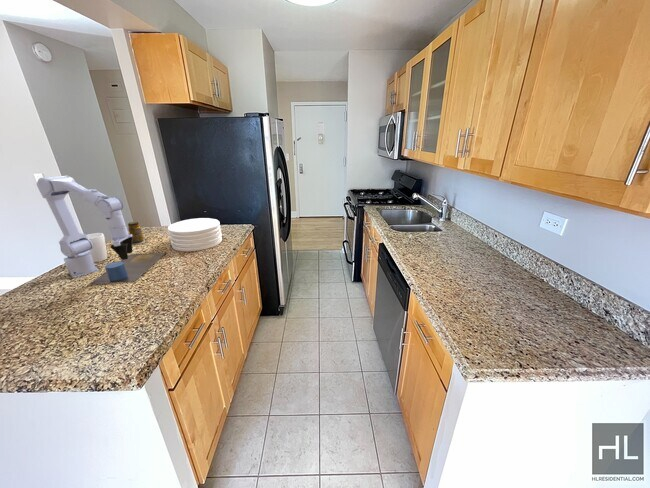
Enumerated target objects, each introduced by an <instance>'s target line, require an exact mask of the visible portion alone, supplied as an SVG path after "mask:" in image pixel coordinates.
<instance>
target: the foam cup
mask: <svg viewBox="0 0 650 488" xmlns="http://www.w3.org/2000/svg"><path fill="white" fill-rule="evenodd" d="M86 235H87V237H88V238H89V240H90V241H91V242H92V243H93V248H92V249H91V251H92V252H90V253H91V256H92V259H93V261H94V263H99V262H103V261H105V260H107V259H108V254H107V253H108V252H107V246H106V241H105V240H106V237H105V234H104V233H102V232H94V233H88V234H86Z"/></svg>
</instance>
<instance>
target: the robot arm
mask: <svg viewBox="0 0 650 488" xmlns="http://www.w3.org/2000/svg"><path fill="white" fill-rule="evenodd" d="M36 187H37V189H38V191H39V192H40V195H41V196H42V198H43V199H45V201H46V202H47V205H48V206H49V208H50V211H51V213H52V215H53V217H54V218H55V220H56V222H57V225H58V227H59V228H60V231H61V233H62V235H63V236H62V238H61V239H60V240H59V241H58V244H59V246H60V247H59V248H60V252H61V254H63V255H64V256H65V257H64V258H63V262H64V264H65V266H66V269H67V273H68V274H69V276H71V278H73V279H74V278H78V277H82V276H85V275H88V274H92V273H95V272H99V271H100V269H99V268H98V267H97V266H96V264H95V262H94V261H93V259H92V256H91V253H90V252H92V251H91V249H92V248H93V243H92V242H91V241H90V240H89V238H88V237H87V235H88V234H86V233H85V234H84V233H82V232H80V231H79V229H78V226H77V224H76V222H75V220H74V218H73V216H72V213H71V212H70V209H69V207H68V205H67V203H66V201H65V198H66V196H67V195H68V194H70V193H72V194H75V195H77V196H80V197H82V198H83V200H84V201H85V202H86V203H88V204H90V205H92V206H94V207H96V208H97V209H98V211H99V212H100V213H101V214H102V216H103V218H104V219H105V221H106V224H107V226H108V229H109V232H110V235H111V240H112V244H111V245H110V248H111V250H113V251H114V252H115V253H116V254H117V256H118V257H119V258H120V260H121V261H122V260H125V259H128V256H129V254H132V253H133V245H132V240H133V236H132V234H131V235H130V233H129V230H128V228H127V225H126V221H125V218H124V216H123V212H122V210H123V209H124V204H123V201H122V200H121V199H120V198H119V197H117V196H108V195H107V194H104V193H102V192H100V191H98V189H96V188H94V189H93V188H92V189H88V188H86V187H85V186H83V185H81V184H79V183H78V182H76V180H75V178H74V177H71V176H69V175H67V174H65V175H58V176H49V177H39V178H38V179H37V182H36Z"/></svg>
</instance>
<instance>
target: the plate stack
mask: <svg viewBox="0 0 650 488" xmlns="http://www.w3.org/2000/svg"><path fill="white" fill-rule="evenodd" d="M167 231H168V236H169V240H170V244H171V245H170V246H171V248H172V249H173V250H174V251H179V252H197V251H203V250H207V249H210V248H213V247H215V246H218V245H219V244H221V243H222V241H223V237H222V236H223V235H222V229H221V223H220V220H218V219H216V218H210V217H198V218H189V219H184V220H179V221H177V222H174V223H171V224H169V225H168V226H167Z"/></svg>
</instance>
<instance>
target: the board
mask: <svg viewBox="0 0 650 488" xmlns="http://www.w3.org/2000/svg"><path fill="white" fill-rule="evenodd" d="M154 254H156V255H154ZM166 254H167V252H153V253H134V254H132V253H131V254H128V259H125V260H122V259H121V261H120V262H123V263H124V266H125V269H126V272H127V277H126V278H124V279H122V280H119V281H110V280H109V278H108V275H107V272H106V271H105V272H104V273H103V274H101V275H100V276H99V277H97V278H96V279H95V280H93V281H92V282H90V283H89V285H103V284H118V283H119V284H121V283H133V282H134V283H135V282H136V281H137V280H138V279H140V278H141V276H143V275H144V274H145V273H146V272H147V271H148V270H149V269H150V268H152V266H154V265H155V264H156V263H157V262H158V261H159V260H160V259H162V258H163V257H164V256H165V255H166ZM138 255H140V256H142V255H144V257H145V256H146V257H147V255H149V257H151V256H153V255H154V256H153V257H152V258H149V257H148V258H149V259H150V260H148V258H147V260H146V261H144V260H145V259H144V260H140V261H139V260H138V261H139V262H138V261H137V260H135V262H133V260H132V259H134V258H135V259H136V258H137V257H136V256H138ZM150 255H151V256H150ZM138 258H139V256H138ZM138 258H137V259H138ZM130 261H131V262H130ZM143 261H144V262H143Z"/></svg>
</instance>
